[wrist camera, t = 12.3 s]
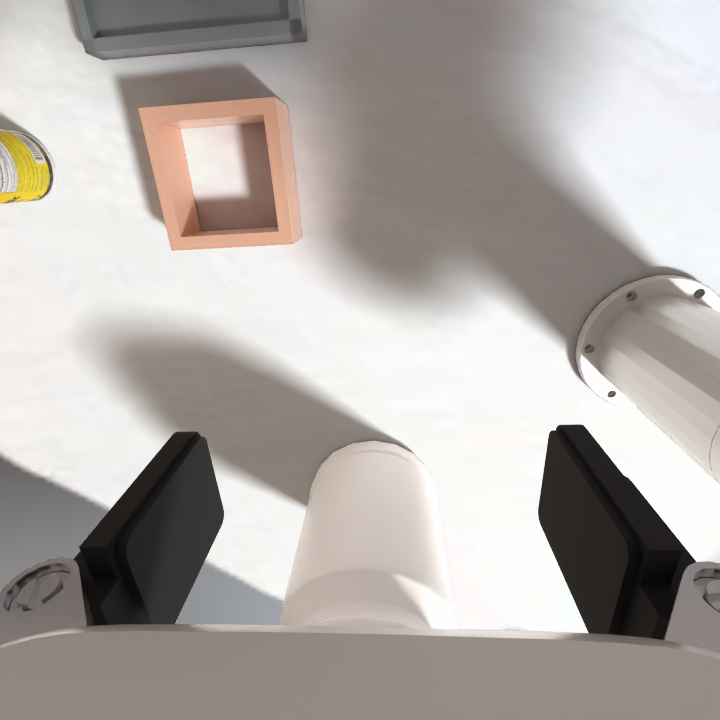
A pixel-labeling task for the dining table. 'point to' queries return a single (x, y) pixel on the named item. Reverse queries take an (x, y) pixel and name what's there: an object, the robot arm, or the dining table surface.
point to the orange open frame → (175, 177)
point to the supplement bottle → (24, 168)
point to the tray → (185, 25)
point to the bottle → (371, 545)
